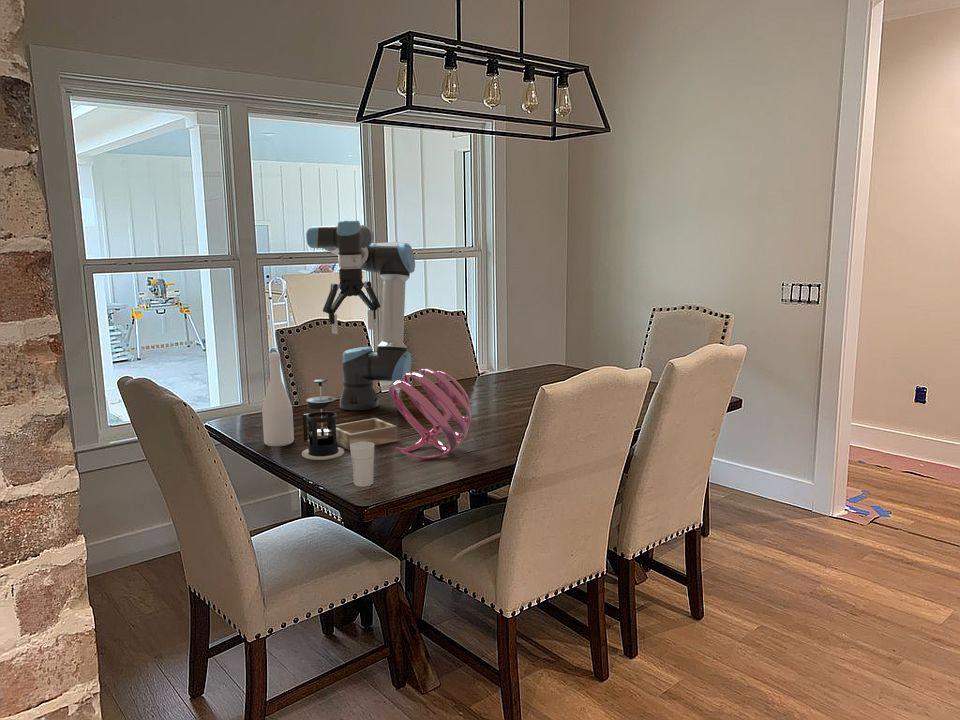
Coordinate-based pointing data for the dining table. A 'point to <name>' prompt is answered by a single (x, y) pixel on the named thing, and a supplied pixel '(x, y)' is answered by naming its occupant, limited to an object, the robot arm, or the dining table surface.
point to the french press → (322, 444)
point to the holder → (365, 432)
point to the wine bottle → (277, 408)
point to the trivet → (307, 456)
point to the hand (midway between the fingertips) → (353, 331)
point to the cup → (362, 463)
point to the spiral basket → (433, 410)
